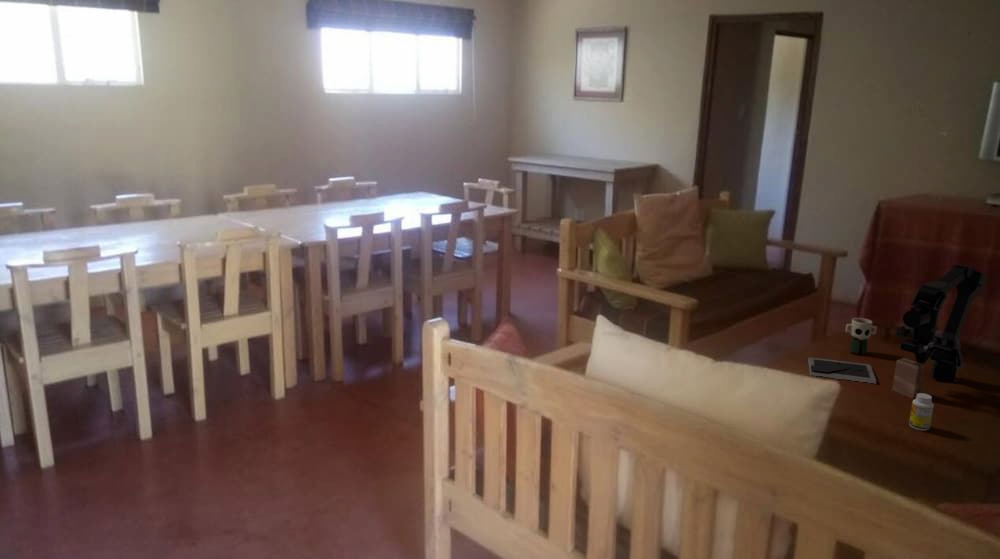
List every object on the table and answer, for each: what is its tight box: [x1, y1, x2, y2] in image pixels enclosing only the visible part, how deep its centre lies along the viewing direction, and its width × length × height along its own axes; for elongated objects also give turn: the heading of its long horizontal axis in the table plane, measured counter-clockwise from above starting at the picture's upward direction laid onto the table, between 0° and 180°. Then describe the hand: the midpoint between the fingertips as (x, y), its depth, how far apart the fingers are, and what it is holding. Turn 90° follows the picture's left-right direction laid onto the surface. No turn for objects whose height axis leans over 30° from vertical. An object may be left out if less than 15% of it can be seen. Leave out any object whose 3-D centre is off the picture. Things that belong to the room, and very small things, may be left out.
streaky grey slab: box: [891, 357, 925, 399], centre depth 245 cm, size 4×7×11 cm, turn 33°
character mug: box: [845, 317, 878, 355], centre depth 282 cm, size 11×7×13 cm, turn 79°
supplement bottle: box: [908, 392, 935, 431], centre depth 220 cm, size 6×6×10 cm
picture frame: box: [808, 356, 877, 385], centre depth 264 cm, size 16×3×21 cm
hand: (919, 366), depth 248 cm, fingers closed
